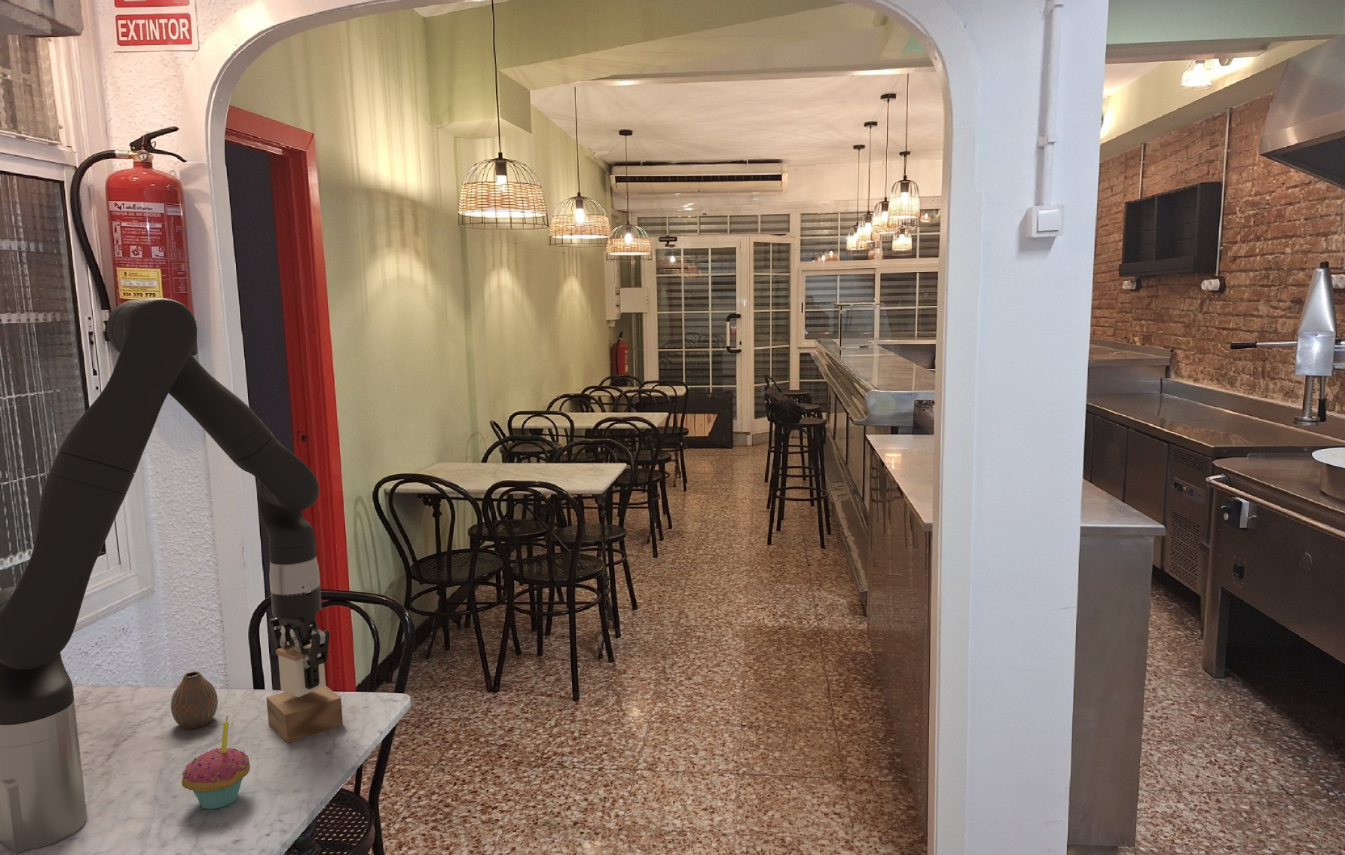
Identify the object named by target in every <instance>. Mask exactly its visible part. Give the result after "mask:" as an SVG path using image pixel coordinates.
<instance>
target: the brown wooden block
mask: <svg viewBox="0 0 1345 855" xmlns="http://www.w3.org/2000/svg"><path fill="white" fill-rule="evenodd" d="M342 706H343V705H342V698H341V696H340V695H338V694H337V693H336V692H334V691H333V690H332V689H331V688H330V687H328V686H327V685H326V686H325V687H322V688H320V689H317V690H315V691H313V692H310V693H308V694H305V695H303V696H300V697H297V696H294V695H292V694H289V693H287V692H285V691H283V692H280V693H276V694H273V695H270V696H266V708H267V709H266V710H267V719H268V720H267V721H268V722H267V723H268V725H269V726H270V727H271V728H272V730H274V731H275V732H276V733H277V734H278V736H280V737H281V738H282V739H283V740H284V741H285V742H286V743H287V744H289V743H293V742H295V741H298V740H301V739H304V738H307V737H309V736H313V735H316V734H319V733H321V732H322V733H323V732H325V731H327V730H330V729H333V728H337V727H339V726H343V725H344V724H343V708H342Z"/></svg>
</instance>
